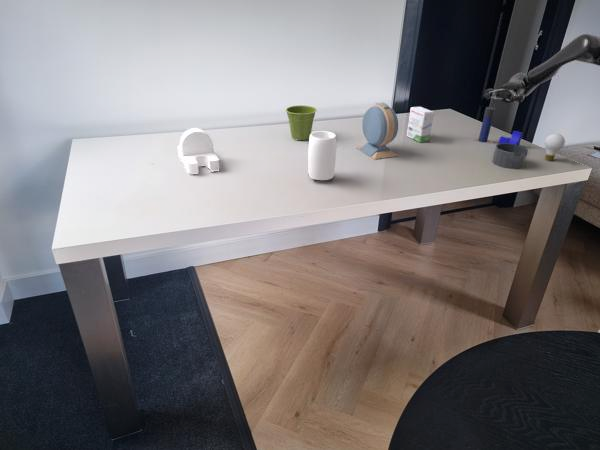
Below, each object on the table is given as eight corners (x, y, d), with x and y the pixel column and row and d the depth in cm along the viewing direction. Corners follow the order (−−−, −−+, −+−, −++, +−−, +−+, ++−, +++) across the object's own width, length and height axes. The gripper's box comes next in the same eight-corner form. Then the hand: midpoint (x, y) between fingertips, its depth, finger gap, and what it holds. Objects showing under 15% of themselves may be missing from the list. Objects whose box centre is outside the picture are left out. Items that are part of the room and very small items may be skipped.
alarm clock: (399, 157, 152) (406, 107, 143) (376, 160, 149) (382, 109, 140) (377, 144, 163) (382, 97, 155) (355, 147, 160) (359, 99, 151)
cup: (316, 171, 140) (318, 128, 132) (339, 177, 136) (342, 133, 129) (302, 179, 133) (303, 135, 126) (325, 186, 130) (328, 141, 122)
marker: (488, 141, 167) (497, 108, 161) (484, 143, 166) (492, 109, 159) (480, 139, 170) (488, 106, 163) (476, 141, 168) (484, 107, 161)
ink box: (429, 141, 168) (435, 111, 162) (419, 142, 166) (424, 112, 160) (415, 134, 174) (420, 105, 168) (405, 136, 172) (410, 107, 166)
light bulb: (548, 157, 155) (556, 130, 150) (561, 163, 150) (571, 135, 145) (535, 159, 153) (544, 132, 148) (548, 165, 148) (558, 137, 143)
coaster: (493, 140, 170) (494, 139, 169) (493, 147, 163) (493, 146, 163) (472, 138, 172) (472, 137, 172) (471, 144, 166) (471, 143, 166)
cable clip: (506, 144, 166) (510, 129, 163) (518, 147, 163) (522, 132, 160) (492, 151, 159) (496, 136, 156) (504, 155, 156) (508, 139, 153)
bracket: (178, 155, 149) (173, 123, 144) (206, 151, 153) (203, 120, 147) (188, 175, 134) (184, 140, 129) (220, 171, 138) (217, 137, 132)
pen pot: (522, 162, 150) (527, 145, 147) (523, 172, 142) (528, 155, 139) (492, 157, 154) (496, 141, 151) (491, 167, 146) (495, 150, 143)
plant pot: (290, 132, 174) (290, 104, 168) (318, 135, 171) (320, 106, 166) (281, 141, 164) (281, 112, 159) (311, 144, 162) (312, 115, 156)
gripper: (495, 79, 178) (482, 85, 167) (531, 84, 171) (521, 91, 160) (490, 97, 182) (478, 105, 171) (526, 103, 174) (515, 111, 163)
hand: (499, 98), depth 165 cm, fingers open, 8 cm apart
